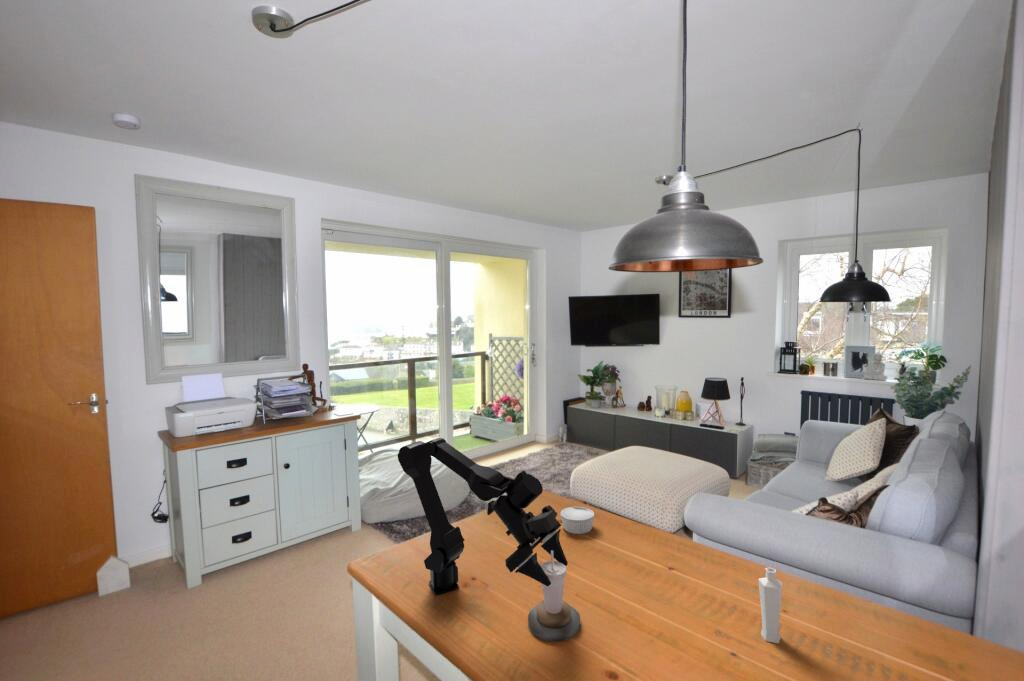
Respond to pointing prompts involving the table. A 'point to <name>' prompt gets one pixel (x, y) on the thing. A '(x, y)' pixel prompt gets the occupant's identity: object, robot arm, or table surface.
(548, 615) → the pedestal
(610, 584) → the table surface
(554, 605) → the white drink cup
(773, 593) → the perfume bottle
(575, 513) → the ramekin
